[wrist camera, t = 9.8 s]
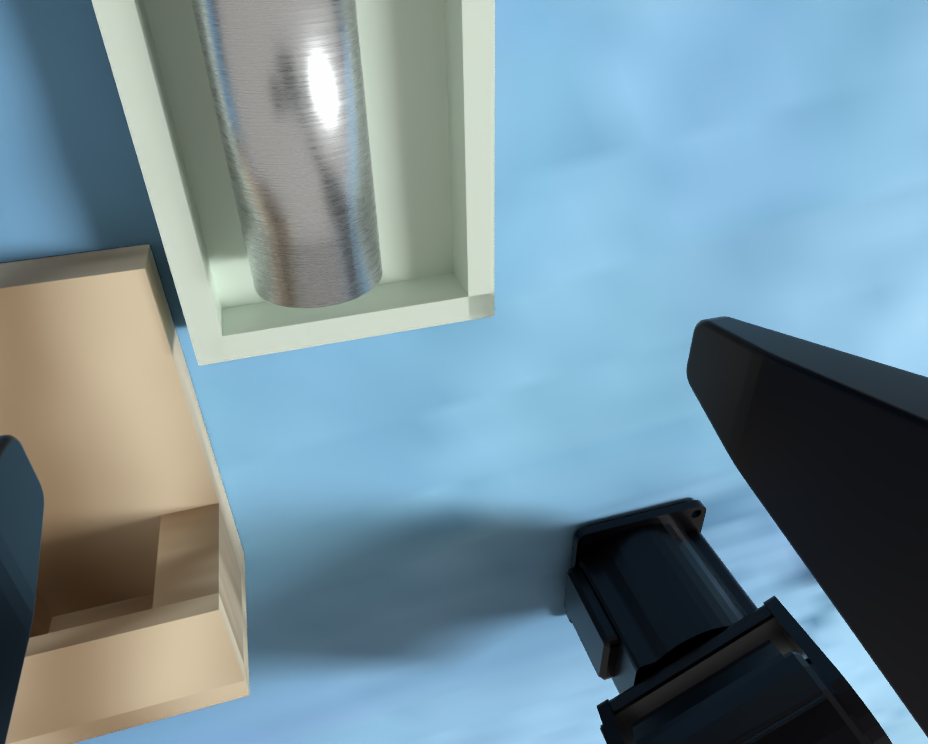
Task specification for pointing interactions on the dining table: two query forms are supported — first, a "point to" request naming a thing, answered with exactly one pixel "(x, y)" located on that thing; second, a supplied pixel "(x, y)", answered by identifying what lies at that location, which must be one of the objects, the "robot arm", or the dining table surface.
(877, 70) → the dining table surface
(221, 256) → the tray
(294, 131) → the pin
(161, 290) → the bracket
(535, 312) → the dining table surface
